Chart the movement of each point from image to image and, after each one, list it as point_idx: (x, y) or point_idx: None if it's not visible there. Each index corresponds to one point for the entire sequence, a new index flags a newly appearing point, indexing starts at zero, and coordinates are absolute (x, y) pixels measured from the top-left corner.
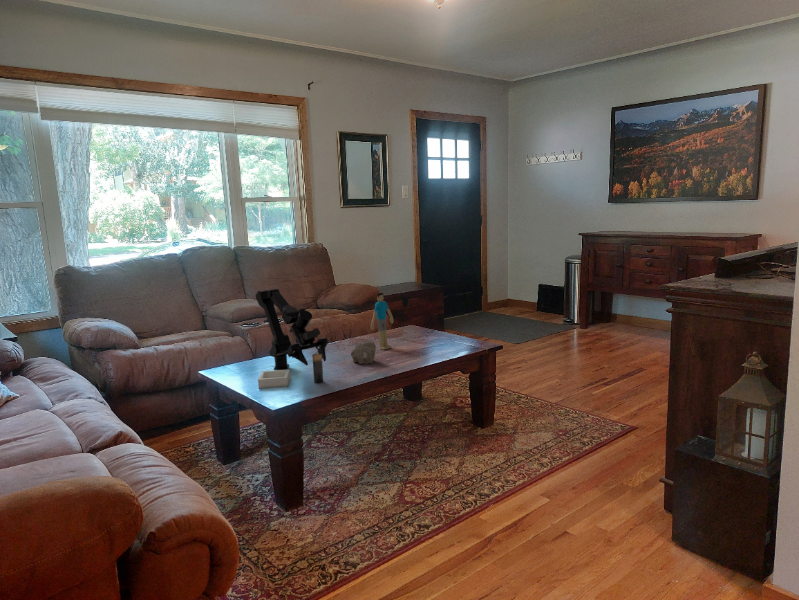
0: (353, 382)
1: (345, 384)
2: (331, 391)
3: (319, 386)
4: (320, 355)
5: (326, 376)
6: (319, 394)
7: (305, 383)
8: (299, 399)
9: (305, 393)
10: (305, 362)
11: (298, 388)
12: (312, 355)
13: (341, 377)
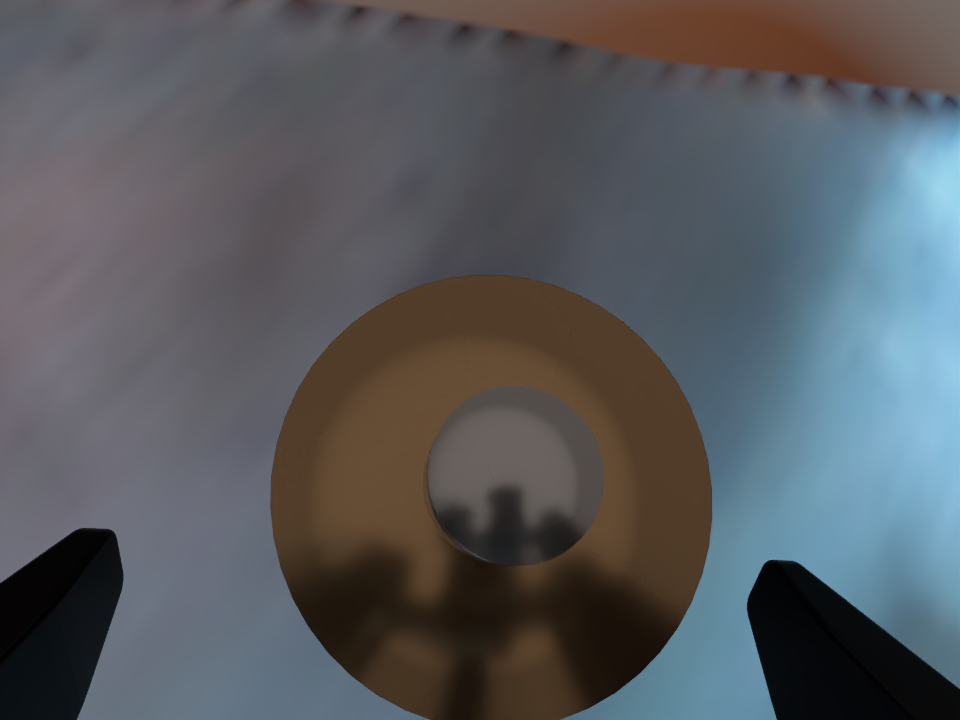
0: (119, 92)
1: (254, 119)
2: (556, 73)
3: None
4: (460, 278)
5: (128, 687)
6: (713, 108)
7: None
8: (952, 162)
9: (818, 263)
10: (849, 629)
11: (800, 506)
12: (695, 572)
13: (21, 413)
